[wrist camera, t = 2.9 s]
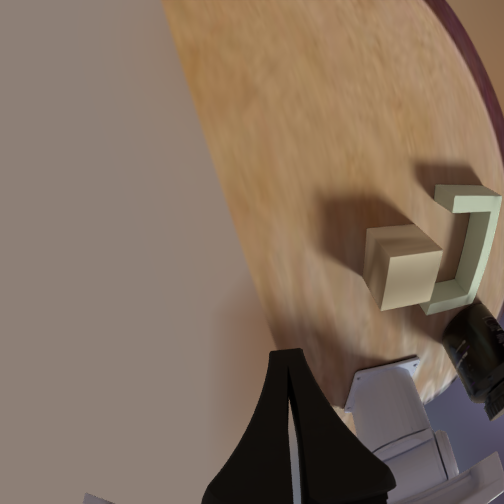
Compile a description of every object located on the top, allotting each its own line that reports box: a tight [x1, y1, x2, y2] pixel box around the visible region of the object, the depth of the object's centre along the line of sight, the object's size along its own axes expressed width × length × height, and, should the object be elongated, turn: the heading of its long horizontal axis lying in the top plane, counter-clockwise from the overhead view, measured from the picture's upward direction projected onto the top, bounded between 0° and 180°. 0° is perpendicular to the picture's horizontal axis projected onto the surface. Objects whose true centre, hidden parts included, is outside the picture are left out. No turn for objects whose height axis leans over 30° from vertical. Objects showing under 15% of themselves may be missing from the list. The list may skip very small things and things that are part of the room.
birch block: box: [362, 224, 443, 311], centre depth 17 cm, size 4×4×4 cm
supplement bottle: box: [442, 304, 504, 421], centre depth 18 cm, size 7×7×12 cm
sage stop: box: [419, 185, 502, 315], centre depth 17 cm, size 10×6×2 cm, turn 7°
